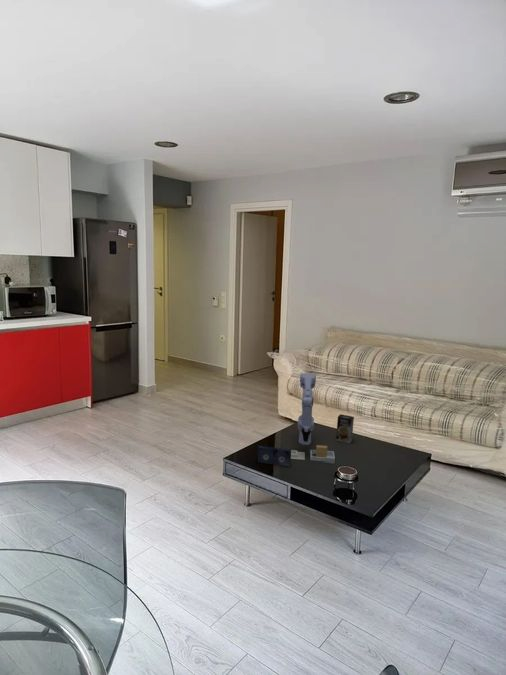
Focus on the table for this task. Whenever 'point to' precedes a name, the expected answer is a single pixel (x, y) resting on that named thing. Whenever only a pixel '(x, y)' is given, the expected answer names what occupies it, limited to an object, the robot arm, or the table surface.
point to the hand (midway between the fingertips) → (305, 438)
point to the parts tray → (328, 459)
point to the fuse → (321, 451)
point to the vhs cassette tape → (274, 456)
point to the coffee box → (344, 428)
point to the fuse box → (297, 455)
